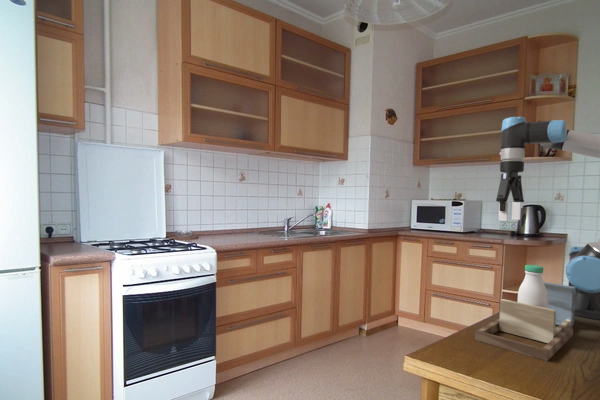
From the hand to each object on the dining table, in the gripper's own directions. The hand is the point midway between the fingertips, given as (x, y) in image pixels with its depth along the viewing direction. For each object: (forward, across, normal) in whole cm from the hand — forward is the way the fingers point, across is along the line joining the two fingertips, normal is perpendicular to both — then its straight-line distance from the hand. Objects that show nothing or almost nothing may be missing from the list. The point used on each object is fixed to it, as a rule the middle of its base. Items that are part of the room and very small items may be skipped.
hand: (509, 220), depth 137 cm
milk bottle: (+32, +23, +14) cm, 42 cm away
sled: (+31, +16, +14) cm, 38 cm away
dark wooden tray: (+32, +29, +14) cm, 45 cm away
